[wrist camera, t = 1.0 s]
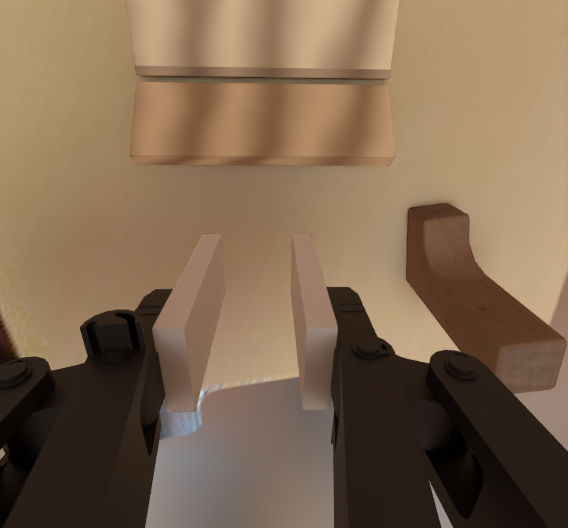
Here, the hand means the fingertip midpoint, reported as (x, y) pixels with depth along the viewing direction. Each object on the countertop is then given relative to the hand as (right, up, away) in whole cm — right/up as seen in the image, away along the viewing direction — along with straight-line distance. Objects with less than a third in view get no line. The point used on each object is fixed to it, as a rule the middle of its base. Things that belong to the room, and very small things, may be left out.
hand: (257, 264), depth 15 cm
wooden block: (+17, +2, +25) cm, 30 cm away
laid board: (-1, +20, +16) cm, 25 cm away
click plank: (-1, +12, +16) cm, 20 cm away
